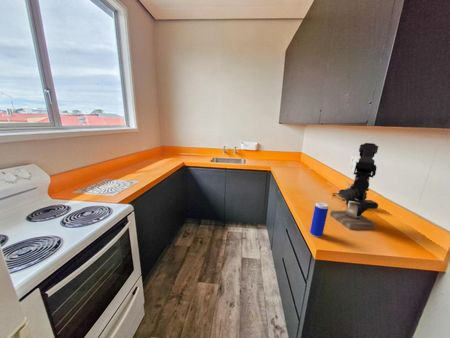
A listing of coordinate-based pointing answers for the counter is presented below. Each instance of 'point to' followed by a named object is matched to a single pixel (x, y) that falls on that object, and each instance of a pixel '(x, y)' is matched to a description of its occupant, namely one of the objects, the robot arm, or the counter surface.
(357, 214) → the robot arm
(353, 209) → the beech leg
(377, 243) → the counter surface
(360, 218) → the socket board
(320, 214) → the beverage can
